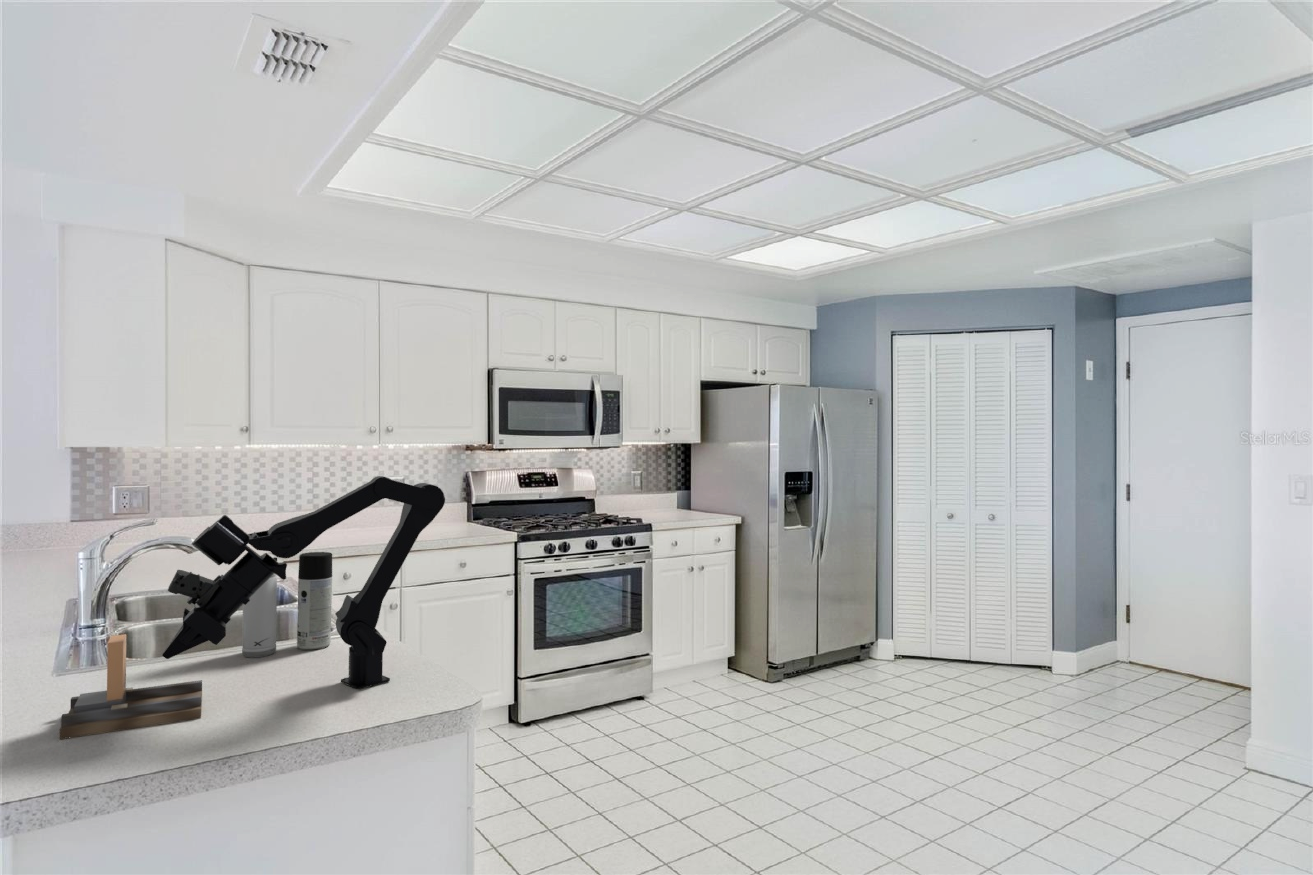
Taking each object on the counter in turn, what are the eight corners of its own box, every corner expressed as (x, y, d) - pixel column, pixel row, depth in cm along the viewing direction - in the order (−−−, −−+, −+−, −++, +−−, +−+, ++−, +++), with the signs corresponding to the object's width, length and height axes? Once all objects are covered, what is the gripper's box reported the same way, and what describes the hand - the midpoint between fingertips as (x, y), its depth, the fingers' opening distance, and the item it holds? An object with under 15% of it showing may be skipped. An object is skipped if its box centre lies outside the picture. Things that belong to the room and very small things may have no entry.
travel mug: (263, 659, 153) (264, 560, 153) (234, 656, 154) (236, 559, 154) (284, 650, 159) (285, 555, 159) (256, 648, 160) (258, 554, 160)
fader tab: (126, 700, 124) (126, 633, 124) (121, 712, 118) (122, 642, 118) (80, 706, 121) (81, 637, 121) (73, 719, 115) (74, 647, 115)
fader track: (202, 695, 131) (202, 676, 131) (200, 717, 121) (201, 697, 121) (72, 713, 122) (73, 693, 122) (59, 739, 112) (59, 717, 112)
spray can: (303, 642, 165) (305, 551, 165) (335, 641, 166) (336, 551, 166) (291, 650, 159) (293, 556, 159) (325, 650, 159) (326, 556, 159)
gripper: (202, 545, 134) (127, 614, 129) (200, 560, 118) (115, 641, 113) (252, 584, 138) (182, 653, 133) (257, 604, 122) (177, 684, 117)
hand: (164, 656), depth 124 cm, fingers closed
